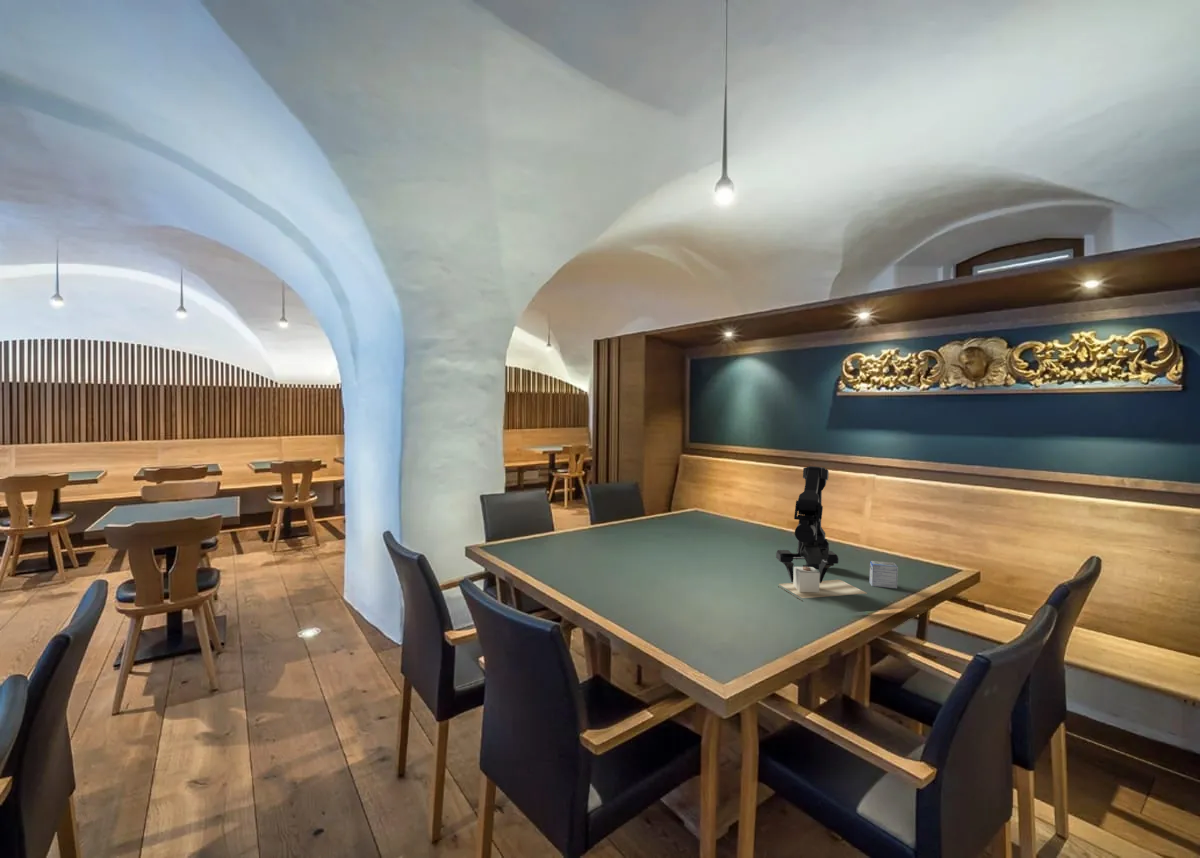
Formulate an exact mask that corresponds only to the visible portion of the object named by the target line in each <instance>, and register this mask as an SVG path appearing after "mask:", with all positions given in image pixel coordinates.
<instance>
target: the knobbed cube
mask: <svg viewBox="0 0 1200 858" xmlns="http://www.w3.org/2000/svg"><path fill="white" fill-rule="evenodd" d="M792 583H793V586H794V587H795V588H796V589H797V590H798V591H799V592H817V593H819V585H820V573H819V570H818V569H815V568H814V567H803V566H793V582H792Z"/></svg>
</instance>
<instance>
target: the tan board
mask: <svg viewBox="0 0 1200 858" xmlns="http://www.w3.org/2000/svg"><path fill="white" fill-rule="evenodd" d="M777 587H778V588H779V589H781V590H783V591H784V592H786V593H787V594H789V595H791V596H792V597H794V598H796V599H798V600H799V601H801V602H803V600H802V599H812V598H813V599H814V598H825V597H838V596H839V597H840V596H848V595H850V596H851V595H864V594H865V595H866V594H867V592H866V591H864V590H862V589H859V588H858V587H856V586H853V585H851V584H849V583H847V582H845V581H844V580H841V579H832V580H831V579H829V580H822V582H821V583H820V585H819V593H817V592H799V591H798V590H797V589H796V588H795V587H794V586H793V582H785V583H778V586H777ZM792 593H793V594H792Z"/></svg>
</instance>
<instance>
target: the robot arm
mask: <svg viewBox="0 0 1200 858" xmlns="http://www.w3.org/2000/svg"><path fill="white" fill-rule="evenodd" d="M829 475H830V473H829V469H827V468H826V467H821V466H816V465H815V466H813V465H809V466H806V467H803V470H802V478H803V479H804V483H805V484H804V488H803V489H804V490H803V492H801V493H799V496H798V499H797V500H796V501H795V506H794V507H795V509H794V516H793V519H794V520H796V521H797V520H798V524H797V526H796V528H795V529H794V536H795V538H796V540H797V548H796V552H797V553H795V552H793V553H792V552H791V551H790V550H789V549H777V551H776V552H775V558H776V559H777V560H778V561H779V562H781V563H782V564H783V565H784V567H785V568H786V572H787V575H788V576H789V579H790V583H793V576H794V566H795V565H794V564H795V563H794V562H793V561H794V560H805V564H803V565H802V567H814V568H815V569H816V570H818V572H819V573H820V583H821V582H822V581H824V577H825V575H826V573H827V571H828V570H829V569H830V567H834V566H835V564H836V565H838V564H839V556H838V555H837V554H836V553H835V552H834V551H832V550H830V542H829V541H828V539H827V538H826V532H825V531H824V528H823V527H822V519H823V509H824V506H823V505H822V501H823V500H822V498H823V496H822V494H823V490H824V488H825V487H826V485H827V481H829Z"/></svg>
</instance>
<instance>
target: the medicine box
mask: <svg viewBox="0 0 1200 858" xmlns="http://www.w3.org/2000/svg"><path fill="white" fill-rule="evenodd" d="M898 574H899V566H898V565H897V564H896V563H895V562H892V561H891V562H890V561H881V560H880V561H877V560H870V562H869V580H868V581H869V584H870V585H871V587H876V588H877V587H879V588H890V589H898V577H899V575H898Z"/></svg>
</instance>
